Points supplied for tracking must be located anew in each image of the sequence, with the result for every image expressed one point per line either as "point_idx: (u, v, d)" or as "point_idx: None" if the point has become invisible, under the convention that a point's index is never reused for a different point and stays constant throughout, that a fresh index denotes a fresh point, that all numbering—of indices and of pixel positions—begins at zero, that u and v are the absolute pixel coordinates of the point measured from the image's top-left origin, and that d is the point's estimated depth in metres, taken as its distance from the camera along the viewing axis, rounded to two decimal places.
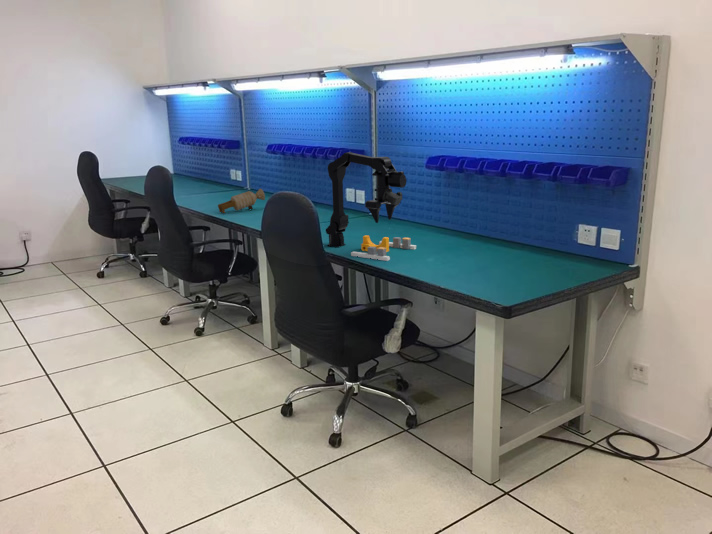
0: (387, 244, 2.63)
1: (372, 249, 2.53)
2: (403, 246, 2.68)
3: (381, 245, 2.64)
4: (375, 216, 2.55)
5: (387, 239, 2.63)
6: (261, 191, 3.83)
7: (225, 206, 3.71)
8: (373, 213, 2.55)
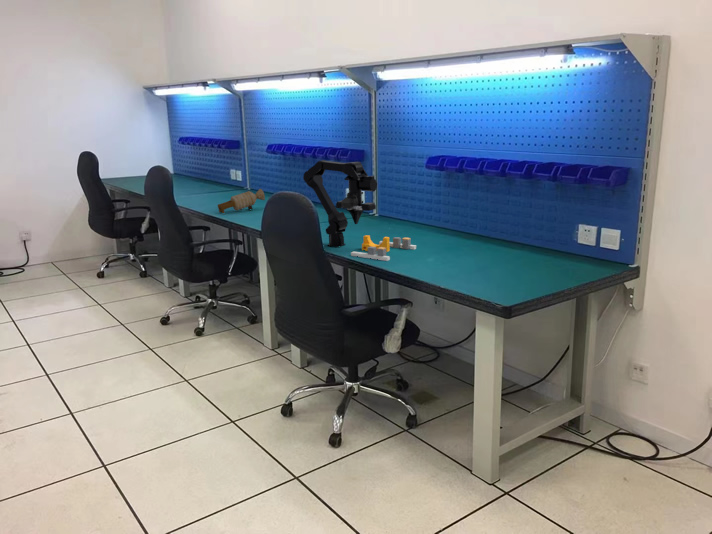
0: (388, 244, 2.64)
1: (372, 249, 2.53)
2: (403, 246, 2.68)
3: (382, 245, 2.64)
4: None
5: (388, 239, 2.63)
6: (261, 192, 3.83)
7: (225, 206, 3.70)
8: None
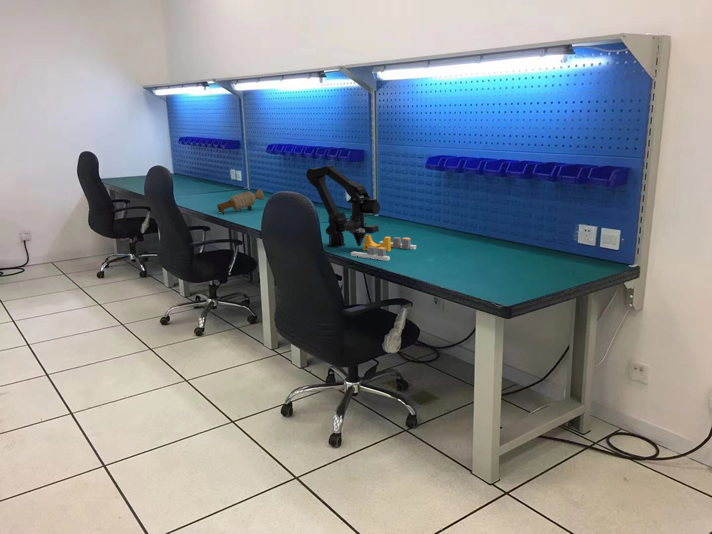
0: (389, 243, 2.64)
1: (372, 249, 2.53)
2: (403, 246, 2.68)
3: (383, 244, 2.65)
4: None
5: (389, 238, 2.64)
6: (260, 191, 3.83)
7: (224, 206, 3.70)
8: None
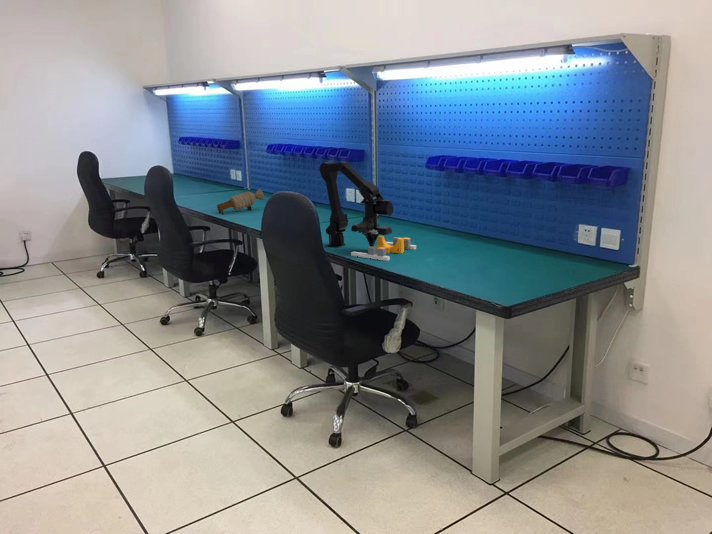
0: (402, 245, 2.60)
1: (372, 249, 2.53)
2: None
3: (396, 246, 2.61)
4: None
5: (402, 240, 2.60)
6: (260, 192, 3.83)
7: (224, 206, 3.70)
8: None
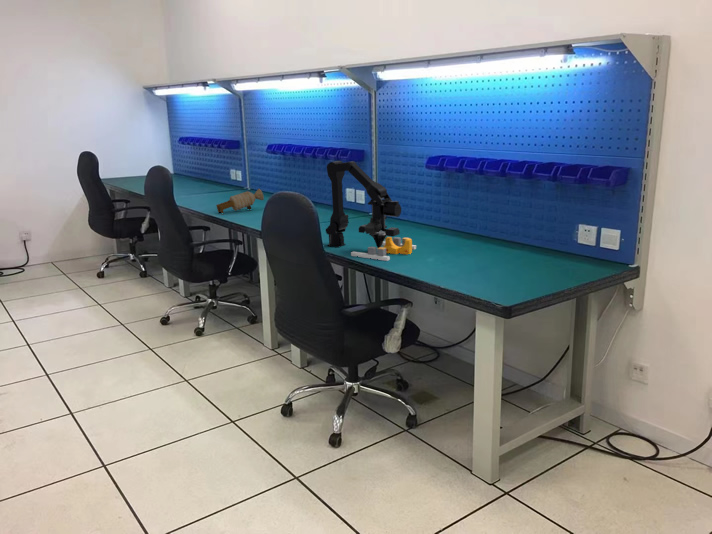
0: (410, 246, 2.58)
1: (372, 249, 2.53)
2: None
3: (404, 247, 2.58)
4: None
5: (410, 241, 2.57)
6: (259, 192, 3.83)
7: (224, 206, 3.70)
8: None
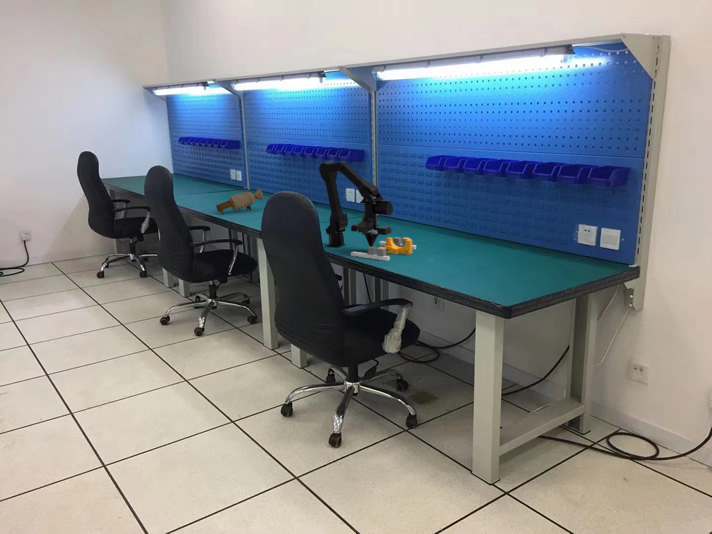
0: (410, 246, 2.58)
1: (372, 249, 2.53)
2: None
3: (404, 247, 2.58)
4: None
5: (410, 241, 2.58)
6: (259, 192, 3.83)
7: (223, 206, 3.70)
8: None
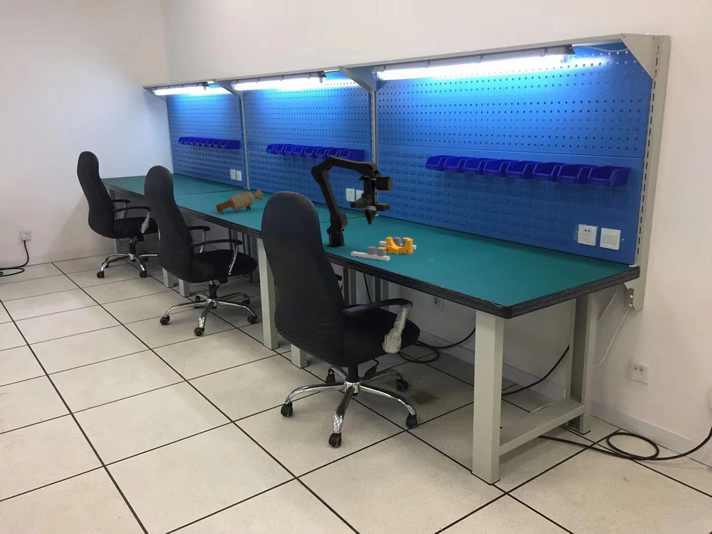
0: (411, 246, 2.58)
1: (372, 249, 2.53)
2: (403, 246, 2.68)
3: (405, 247, 2.59)
4: None
5: (411, 241, 2.58)
6: (259, 192, 3.82)
7: (223, 206, 3.70)
8: None
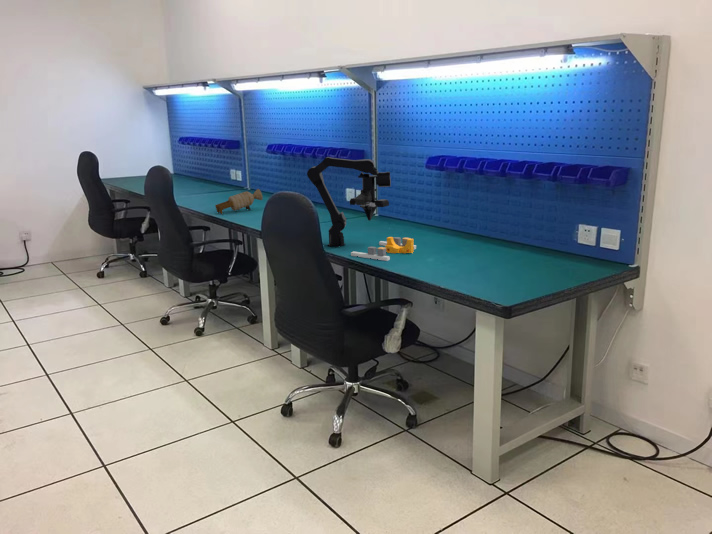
0: (412, 246, 2.59)
1: (372, 249, 2.53)
2: (403, 246, 2.68)
3: (406, 247, 2.59)
4: None
5: (412, 241, 2.59)
6: (258, 192, 3.83)
7: (223, 206, 3.70)
8: None
